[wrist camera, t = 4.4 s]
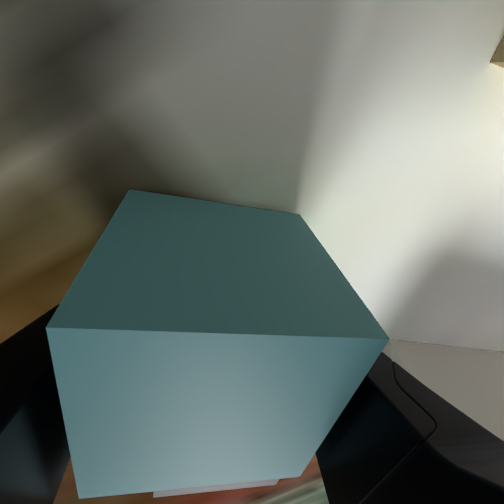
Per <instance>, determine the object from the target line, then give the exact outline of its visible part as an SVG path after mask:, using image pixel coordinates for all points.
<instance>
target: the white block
mask: <svg viewBox="0 0 504 504" xmlns="http://www.w3.org/2000/svg"><path fill="white" fill-rule="evenodd" d="M382 352H383V353H384V354H386V355H387V356H388V357H389V358H391V359H392V361H395V362H396V363H397V364H398V365H400V366H401V367H402V368H403V369H405V370H406V371H407V372H408V373H410V374H411V375H412V376H414V377H415V378H416V379H417V380H419V381H420V382H421V383H423V384H424V385H425V386H427V387H428V388H429V389H431V390H432V391H434V392H435V393H436V394H438V395H439V396H440V397H442V398H443V399H445V400H446V401H447V402H449V403H450V404H452V405H453V406H454V407H456V408H457V409H459V410H460V411H462V412H463V413H464V414H466V415H467V416H469V417H470V418H471V419H473V420H474V421H476V422H477V423H478V424H480V425H481V426H483V427H484V428H485V429H487V430H488V431H490V432H491V433H493V434H494V435H495V436H497V437H498V438H500V439H501V440H503V441H504V352H498V351H489V350H480V349H471V348H462V347H453V346H444V345H435V344H426V343H417V342H408V341H399V340H390V339H389V341H388V343H387V344H386V346H385V347H384V349H383V350H382Z"/></svg>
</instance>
